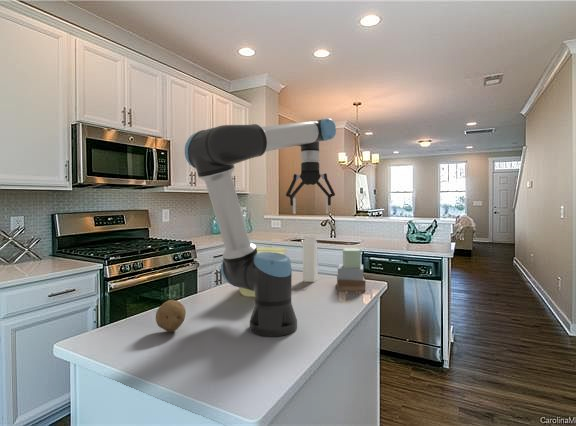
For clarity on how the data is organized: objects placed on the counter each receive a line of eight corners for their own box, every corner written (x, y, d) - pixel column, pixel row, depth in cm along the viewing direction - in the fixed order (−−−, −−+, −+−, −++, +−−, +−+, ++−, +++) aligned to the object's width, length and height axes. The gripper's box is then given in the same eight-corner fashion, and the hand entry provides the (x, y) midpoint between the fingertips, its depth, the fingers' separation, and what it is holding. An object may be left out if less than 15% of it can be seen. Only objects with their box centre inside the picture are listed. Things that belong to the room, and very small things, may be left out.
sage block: (360, 268, 153) (360, 250, 153) (344, 268, 153) (344, 250, 153) (357, 265, 160) (357, 248, 160) (342, 265, 160) (342, 248, 160)
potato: (184, 336, 102) (183, 304, 102) (152, 339, 101) (152, 306, 100) (187, 326, 111) (186, 295, 111) (158, 328, 110) (157, 297, 109)
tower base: (365, 291, 151) (365, 280, 151) (337, 291, 152) (337, 280, 152) (362, 285, 163) (362, 274, 163) (336, 284, 164) (336, 274, 164)
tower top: (362, 280, 151) (362, 269, 151) (337, 279, 153) (337, 268, 153) (363, 275, 162) (363, 264, 161) (339, 274, 164) (339, 263, 164)
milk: (314, 282, 168) (314, 237, 167) (302, 281, 170) (302, 237, 169) (317, 279, 174) (317, 236, 172) (306, 278, 176) (305, 235, 174)
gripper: (340, 162, 144) (340, 213, 144) (281, 163, 147) (282, 213, 147) (341, 160, 136) (341, 213, 137) (278, 161, 139) (279, 214, 140)
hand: (310, 213), depth 142 cm, fingers open, 13 cm apart
